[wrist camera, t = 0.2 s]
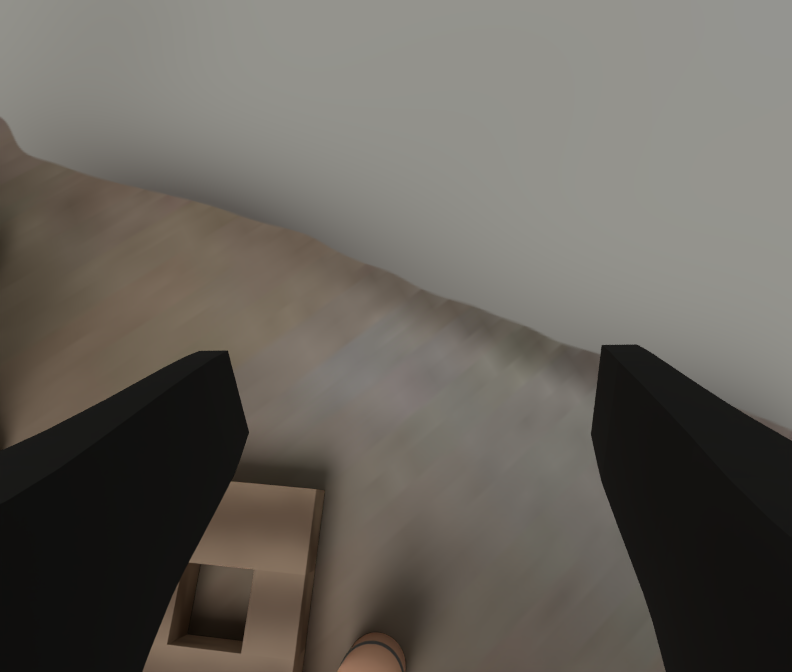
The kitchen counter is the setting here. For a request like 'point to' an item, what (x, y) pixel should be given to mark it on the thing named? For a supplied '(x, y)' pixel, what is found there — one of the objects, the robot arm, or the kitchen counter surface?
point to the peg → (374, 655)
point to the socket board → (271, 587)
